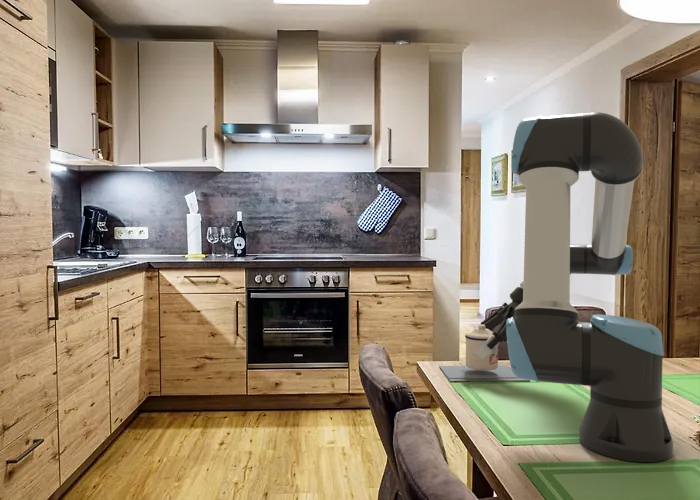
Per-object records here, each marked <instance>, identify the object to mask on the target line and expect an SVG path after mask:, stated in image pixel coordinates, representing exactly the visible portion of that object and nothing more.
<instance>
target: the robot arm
mask: <svg viewBox="0 0 700 500" xmlns="http://www.w3.org/2000/svg"><path fill="white" fill-rule="evenodd" d="M643 155H644V154H643V149H642V146H641V144H640V142H639V140H638V138H637V136H636V134H635V133H634V131H633V130H632V129H631V128H630V126H628V125H627V124H626V122H624V121H623V120H621V119H620V118H618V117H617V116H614V115H612V114H609V113H606V112H599V111H597V112H596V111H595V112H586V113H575V114H573V113H572V114H571V113H570V114H559V115H548V116H544V115H539V116H536V117H530V118H529V117H528V118H524V119H522V120H521V121H520V122H519V123H518V125H517V126H516V130H515V133H514V138H513V143H512V157H511V171H512V174H514V175H517V176H518V182H519V183H520V184H521V185H522V186H523V187H525V213H524V217H525V218H524V221H525V222H524V247H523V248H524V254H523V280H522V282H521V283H519V286H517V287H516V288H515V289H514V290H512V291H511V293H510V294H509V297H510V299H511V302H510V303H509V304H508V303H507V302H503V304H502V305H500V307H498V309H496V310H494V311H493V312H492V313H491V314H490V315H489V316H488V317H486V318H485V319H484V320H482V321H481V322H480V325H485V326H486V329H489V330H490V331H492V330H493V329H495V328H497V327H498V326H499V327H498V328H497V329H496V331H492V332H493V333H492V334H493V335H494V336H495V337H494V336H493V335H491V336H490V337H489V338H488V340H486V341H485V342H484V343H483V344H482V345H481V346H480V347H479V348H478V349H477V350H476V351H475V352H476V353H477V354H478V355H479V356H480V357H481V358H482V359H484V358H485V357H486V356H487V355H488V354H489V353H490V352H491V351H492V350H493V349H494V348H495V347H496V346H497V345H498V346H499V344H500V343H503V342H507V344H506V345H507V352H508V358H509V364H510V365H509V366H510V368H511V369H512V372H513V374H514V375H515V376H516V377H518V378H520V379H526V380H530V381H535V382H537V383H539V382H540V383H541V382H543V383H552V384H553V383H554V384H565V385H575V386H576V385H577V386H589V387H590V396H589V402H588V405H587V407H586V409H585V410H586V411H585V412H584V415H583V417H582V420H581V424H580V427H579V441H580V443H581V444H582V445H583V446H584V447H585V448H587V449H589V450H590V451H593V452H594V453H596V454H599V455H602V456H606V457H609V458H612V459H616V460H622V461H627V462H628V461H629V462H635V463H636V462H639V463H656V462H657V463H658V462H663V461H666V460H669V459H670V458H671V457H672V456H673V454H674V453H673V452H674V449H673V448H674V445H673V444H674V442H673V438H672V434H671V432H670V429H669V426H668V423H667V420H666V418H665V417H666V416H665V414H664V411H663V356H665V352H664V345H663V334H662V332H661V331H660V329H659V328H658V327H656V326H655V325H653V324H651V323H648V322H645V321H642V320H638V319H634V318H630V317H625V316H619V315H611V314H600V313H599V314H593V315H591V318H590V319H589V322H587V321H585V322H583V321H579V311H578V310H577V309H576V308H575V307H574V306H573V305H572V304H571V301H570V298H571V294H570V293H571V292H570V290H571V287H570V286H571V284H570V283H571V274H572V275H573V274H575V275H576V274H577V275H608V276H616V275H629V274H630V273H631V272H632V271H633V263H634V260H633V259H634V255H633V247H632V246H631V245H630V244H629V245H628V244H626V243H627V242H626V241H627V236H628V229H629V222H630V213H631V207H632V199H633V193H634V192H633V191H634V186H635V181H636V180H637V179H638V178H639V177H640V175H641V173H642V170H643V162H644V160H643V159H644V157H643ZM588 171H590V174H591V176H592V177H593V178H594V179H595V181H594V198H593V200H594V201H593V215H592V228H591V229H592V230H591V231H592V232H591V244H571V188H572V186H573V185H575V184H576V183H577V182H578V180H579V178H580V174H579V173H580V172H588ZM464 344H465V345H466V341H465V342H464Z"/></svg>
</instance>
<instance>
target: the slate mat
mask: <svg viewBox="0 0 700 500" xmlns="http://www.w3.org/2000/svg"><path fill="white" fill-rule="evenodd" d="M438 367H439V369H440V368H441V369H440V370H441V372H442V373H443V374H444V375H445V377H446V378H447V379H448V380H449V379H492V378H518V377H516V376H515V375H514V374H513V372H512V369H511V366H510V365H498V367H497V368H496V369H494V370H474V369H470V368H468V367H467V366H466V365H439V366H438Z"/></svg>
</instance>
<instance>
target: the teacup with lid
mask: <svg viewBox="0 0 700 500" xmlns="http://www.w3.org/2000/svg"><path fill="white" fill-rule="evenodd" d="M493 332H494V331H492V330H489V329H486V326H485V325H481V324H478V326H477V327H476V328H474V329H473V330H469V331H467V332H466V333H465V335H464V337H465V342H466V344H465V366H467V367H468V368H470V369H474V370H494V369H496V368H497V367H498V366H499V344H498V345H497V346H496V347H495V348H494V349H493V350H492V351H491V352H490V353H489V354H488V355H487V356H486V357H485V358H484V359H482V358H481V357H480V356H479V355H478V354H477V353H476V352H475V351H476V350H477V349H478V348H479V347H480V346H481V345H482V344H483V343H484V342H485V341H486V340H488V338H489V337H490V336H491V335H493V334H492V333H493ZM493 336H494V335H493ZM494 337H495V336H494Z"/></svg>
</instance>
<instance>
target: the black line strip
mask: <svg viewBox="0 0 700 500" xmlns="http://www.w3.org/2000/svg"><path fill="white" fill-rule="evenodd" d="M448 381H449V382H450V383H456V382H455V381H458V382H457V383H464V382H463V381H467V382H466V383H473V382H474V381H475V382H476V381H517V382H531V380H526V379H520V378H492V379H448ZM459 381H460V382H459ZM468 381H470V382H468ZM475 382H474V383H475ZM476 383H477V382H476Z"/></svg>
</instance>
